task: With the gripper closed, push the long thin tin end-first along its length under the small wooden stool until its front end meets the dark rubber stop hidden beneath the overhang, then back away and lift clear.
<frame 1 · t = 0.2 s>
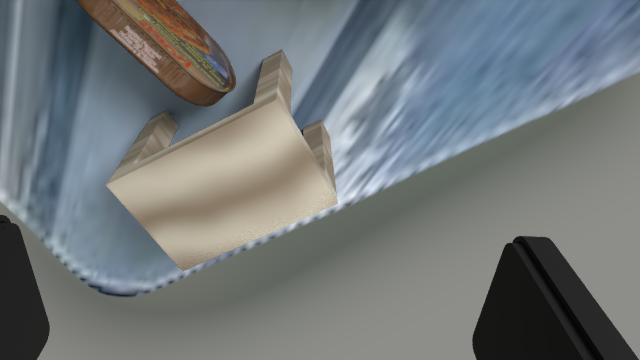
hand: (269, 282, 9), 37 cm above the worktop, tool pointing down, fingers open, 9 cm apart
tin: (170, 17, 42), on the worktop
small wooden stool: (241, 127, 48), on the worktop
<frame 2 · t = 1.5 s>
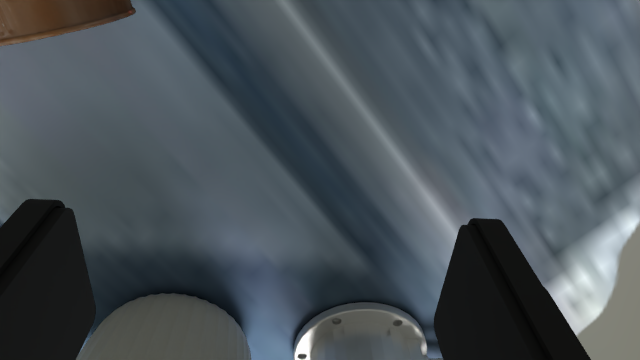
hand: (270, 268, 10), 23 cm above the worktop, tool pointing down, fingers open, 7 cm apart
canister: (179, 333, 44), on the worktop
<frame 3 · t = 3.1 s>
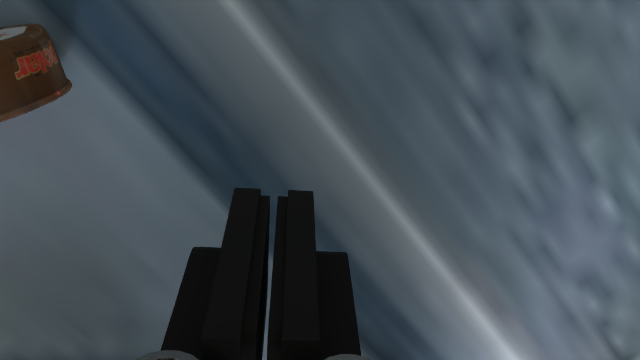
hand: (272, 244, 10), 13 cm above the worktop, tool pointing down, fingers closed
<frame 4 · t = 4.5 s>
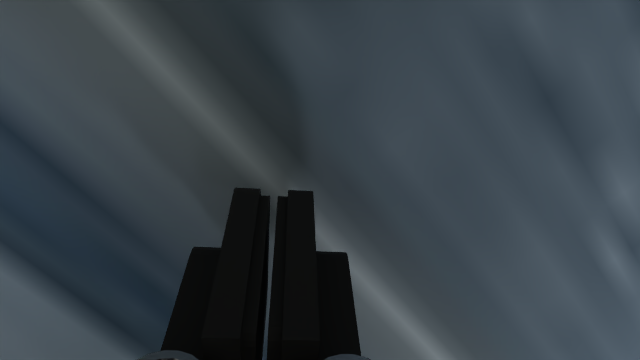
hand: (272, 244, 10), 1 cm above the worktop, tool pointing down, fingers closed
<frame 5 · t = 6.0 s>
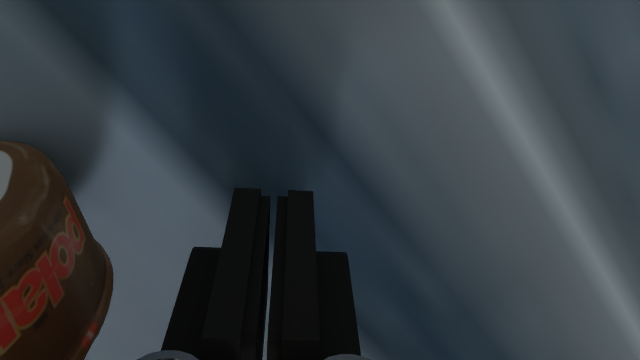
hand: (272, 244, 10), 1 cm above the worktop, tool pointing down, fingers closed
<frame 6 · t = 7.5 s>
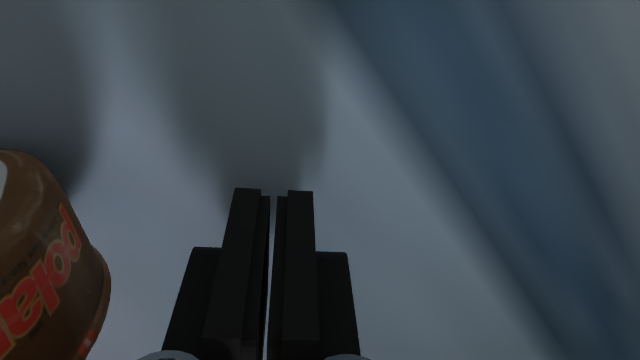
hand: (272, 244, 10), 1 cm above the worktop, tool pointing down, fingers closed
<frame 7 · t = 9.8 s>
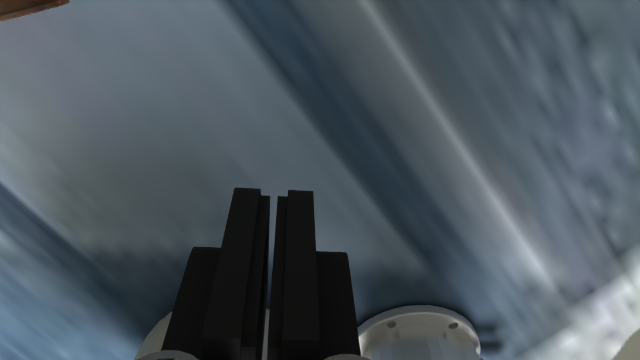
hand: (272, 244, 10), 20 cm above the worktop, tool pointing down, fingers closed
canister: (227, 337, 43), on the worktop
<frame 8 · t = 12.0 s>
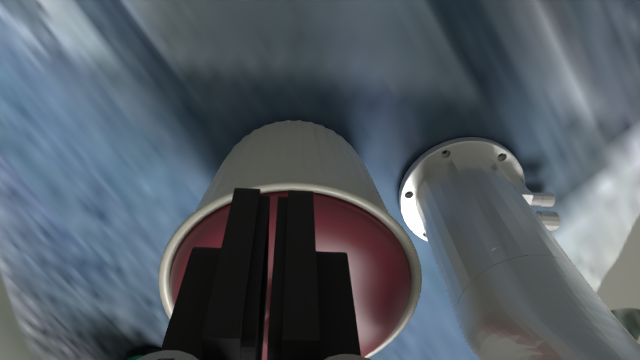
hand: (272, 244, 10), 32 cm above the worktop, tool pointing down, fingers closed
canister: (294, 173, 47), on the worktop
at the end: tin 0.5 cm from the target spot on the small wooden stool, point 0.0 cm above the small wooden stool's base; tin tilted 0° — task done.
